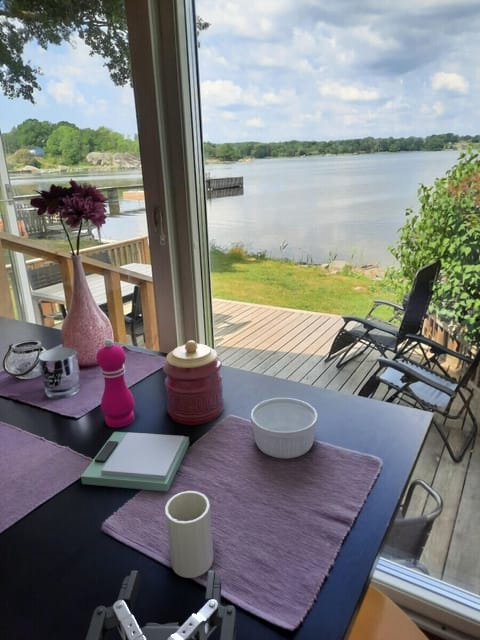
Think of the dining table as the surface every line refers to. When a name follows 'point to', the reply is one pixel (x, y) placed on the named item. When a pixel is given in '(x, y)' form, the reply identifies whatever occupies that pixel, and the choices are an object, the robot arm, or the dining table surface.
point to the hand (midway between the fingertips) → (173, 575)
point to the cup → (189, 533)
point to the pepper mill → (115, 386)
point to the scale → (137, 461)
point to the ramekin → (284, 427)
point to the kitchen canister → (193, 384)
